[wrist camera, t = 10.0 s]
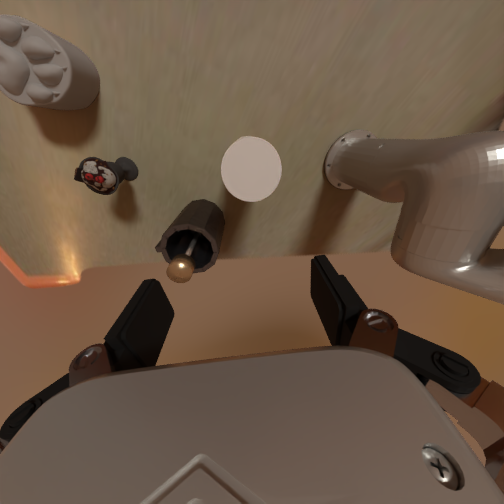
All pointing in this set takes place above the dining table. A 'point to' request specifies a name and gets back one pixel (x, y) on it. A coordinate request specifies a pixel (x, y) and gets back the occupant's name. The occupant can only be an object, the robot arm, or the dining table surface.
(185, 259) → the plunger
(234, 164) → the cylindrical container
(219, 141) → the dining table surface
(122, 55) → the dining table surface
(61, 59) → the lumpy-topped squat cylinder
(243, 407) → the robot arm
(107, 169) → the sundae
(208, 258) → the press carafe
